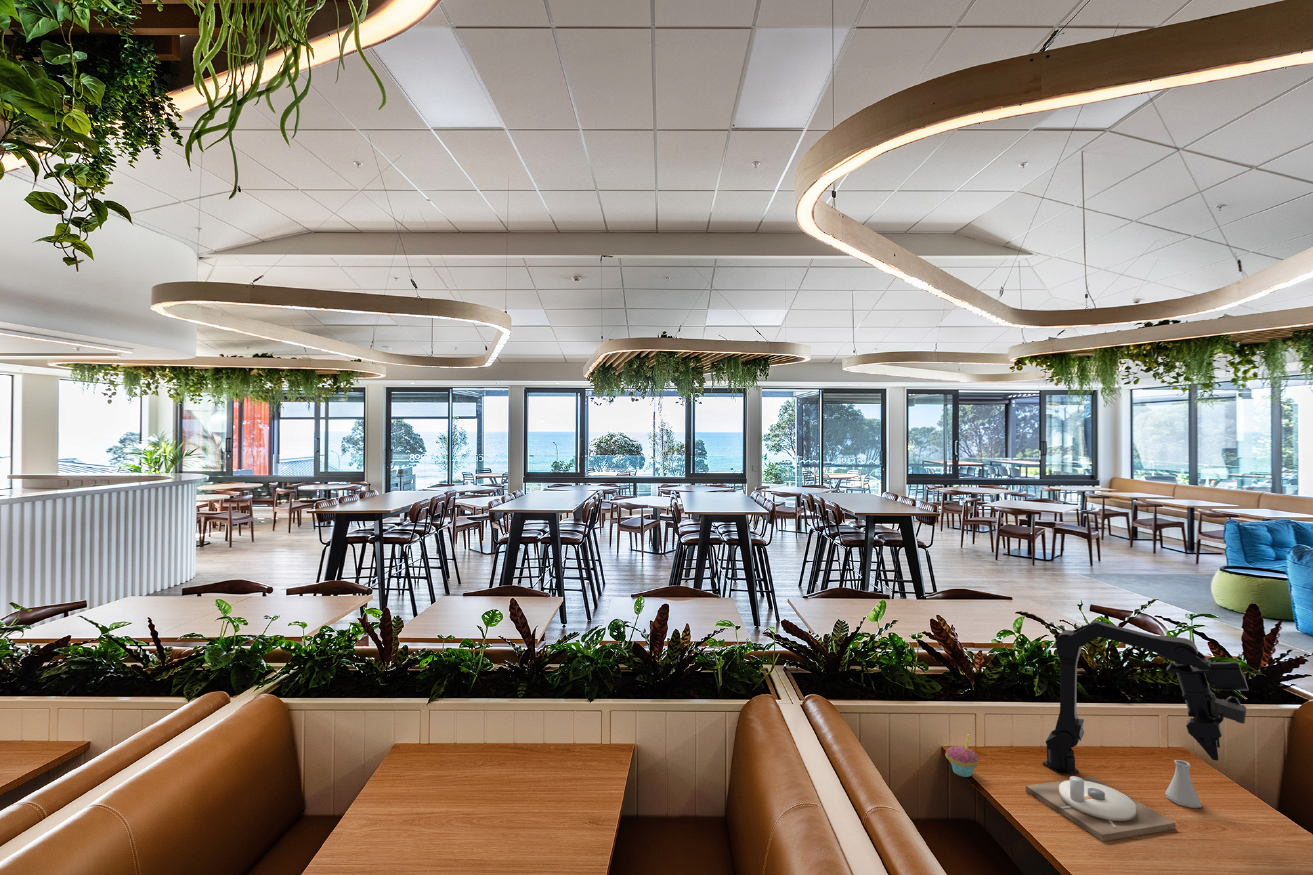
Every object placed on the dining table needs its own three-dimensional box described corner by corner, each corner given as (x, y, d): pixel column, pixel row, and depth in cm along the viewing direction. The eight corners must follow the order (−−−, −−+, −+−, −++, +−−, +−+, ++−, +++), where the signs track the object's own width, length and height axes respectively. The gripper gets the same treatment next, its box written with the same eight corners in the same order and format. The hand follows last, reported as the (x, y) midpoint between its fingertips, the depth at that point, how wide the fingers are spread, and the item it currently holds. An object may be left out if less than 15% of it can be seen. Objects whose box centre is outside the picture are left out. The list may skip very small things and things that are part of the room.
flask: (1209, 810, 154) (1207, 771, 154) (1176, 807, 156) (1175, 768, 156) (1190, 795, 161) (1189, 757, 162) (1159, 792, 163) (1158, 754, 163)
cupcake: (976, 768, 175) (975, 726, 175) (981, 783, 167) (981, 739, 167) (943, 763, 178) (943, 722, 178) (947, 777, 170) (947, 734, 170)
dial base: (1025, 791, 163) (1025, 784, 163) (1091, 781, 168) (1091, 775, 168) (1102, 841, 141) (1102, 834, 141) (1175, 828, 146) (1175, 821, 146)
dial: (1092, 782, 164) (1092, 758, 164) (1152, 816, 149) (1152, 789, 149) (1044, 789, 161) (1043, 764, 161) (1100, 824, 145) (1100, 797, 145)
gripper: (1236, 701, 144) (1260, 771, 141) (1238, 680, 157) (1259, 744, 154) (1177, 699, 151) (1198, 765, 148) (1183, 679, 165) (1202, 740, 162)
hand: (1216, 753), depth 153 cm, fingers open, 9 cm apart
